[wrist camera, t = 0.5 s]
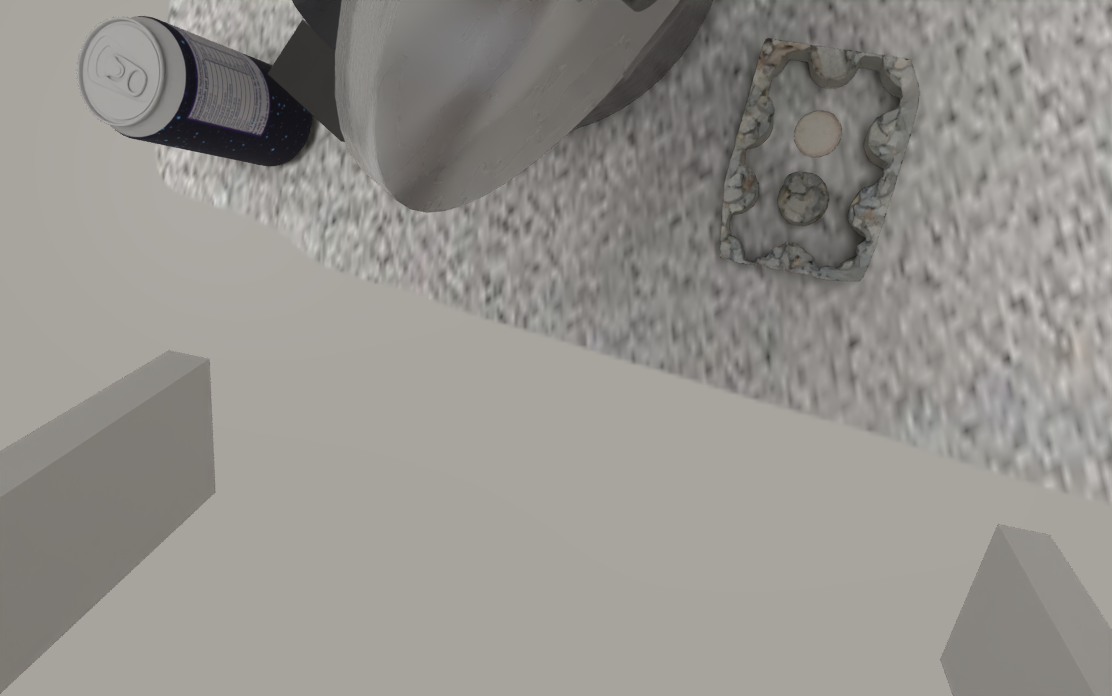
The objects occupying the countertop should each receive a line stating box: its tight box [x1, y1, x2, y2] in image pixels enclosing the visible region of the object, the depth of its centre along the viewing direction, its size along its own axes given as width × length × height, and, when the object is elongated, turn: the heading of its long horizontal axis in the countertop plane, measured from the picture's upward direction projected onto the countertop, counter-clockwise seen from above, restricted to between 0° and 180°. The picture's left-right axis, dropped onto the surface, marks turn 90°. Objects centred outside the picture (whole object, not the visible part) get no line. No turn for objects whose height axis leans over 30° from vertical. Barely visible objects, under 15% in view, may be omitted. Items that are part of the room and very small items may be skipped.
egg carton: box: [720, 38, 920, 281], centre depth 38 cm, size 11×8×4 cm
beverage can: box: [77, 16, 312, 166], centre depth 42 cm, size 6×6×12 cm
